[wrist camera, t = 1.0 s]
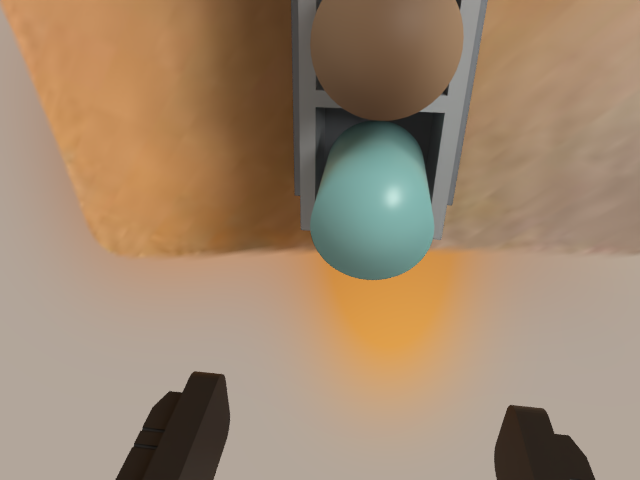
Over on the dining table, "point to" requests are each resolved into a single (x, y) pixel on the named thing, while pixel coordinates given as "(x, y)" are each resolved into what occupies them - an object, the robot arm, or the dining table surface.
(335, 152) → the teal rounded cylinder
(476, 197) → the dining table surface
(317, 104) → the grey compartment tray
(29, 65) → the dining table surface
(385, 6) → the brown rounded cylinder
